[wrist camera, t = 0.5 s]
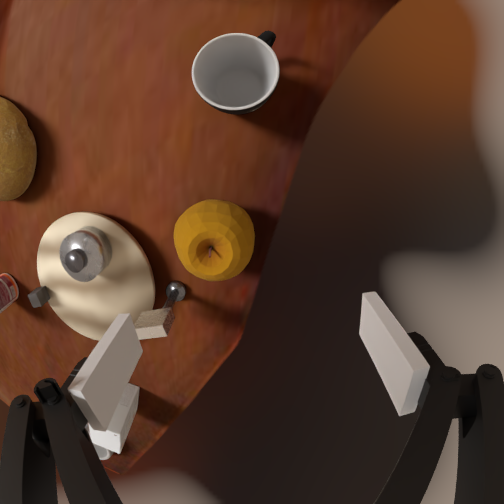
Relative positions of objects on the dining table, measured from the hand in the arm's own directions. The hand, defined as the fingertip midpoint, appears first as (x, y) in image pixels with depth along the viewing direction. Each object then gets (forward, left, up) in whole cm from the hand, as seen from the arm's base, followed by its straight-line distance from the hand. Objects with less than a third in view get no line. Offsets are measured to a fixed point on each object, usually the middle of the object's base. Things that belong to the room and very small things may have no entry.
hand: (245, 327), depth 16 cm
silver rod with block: (+8, -13, -27) cm, 31 cm away
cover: (-2, -23, -24) cm, 33 cm away
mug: (-19, +4, -27) cm, 33 cm away
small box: (+29, -33, -27) cm, 52 cm away
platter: (+3, -27, -25) cm, 37 cm away
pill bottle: (+1, -50, -27) cm, 57 cm away
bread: (-28, -44, -27) cm, 59 cm away
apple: (0, -4, -27) cm, 27 cm away
